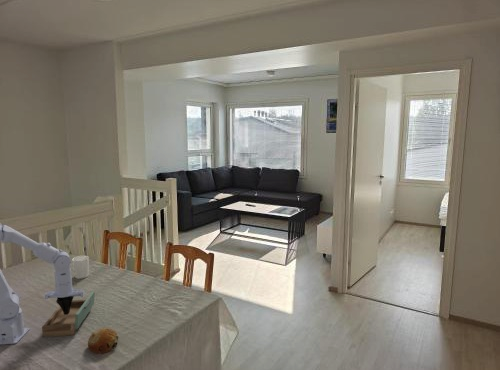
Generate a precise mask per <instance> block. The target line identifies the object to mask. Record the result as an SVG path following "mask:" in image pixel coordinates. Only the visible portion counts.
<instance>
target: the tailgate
mask: <svg viewBox="0 0 500 370" xmlns="http://www.w3.org/2000/svg"><path fill="white" fill-rule="evenodd" d="M95 293H96V291H91V292H90V294H89V295H88V297H87V298H86V299H85V300H86V301H85V302H84V303H83V305H82V306H81V308H80V309H79V310H78V312H77V313H76V314H75V329H77V330H78V329H79V328H78V327H80V326H81V325H80V324H82V323H83V322H82V321H84V320H85V319H86V317H87V316H88V315H89V313H90V311H91V310H92V308H93V307H94V304H95ZM90 309H91V310H90ZM88 312H89V313H88ZM86 315H87V316H86ZM84 318H85V319H84Z"/></svg>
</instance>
